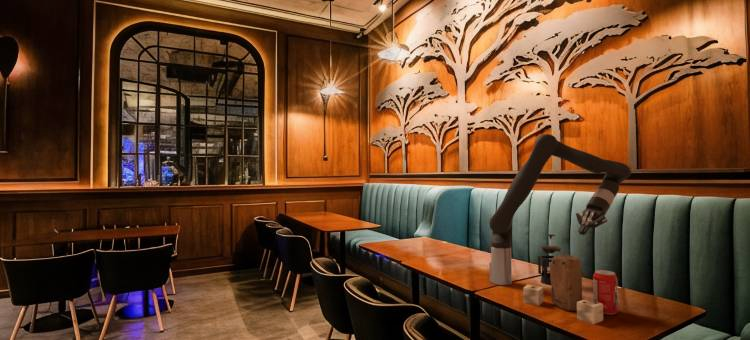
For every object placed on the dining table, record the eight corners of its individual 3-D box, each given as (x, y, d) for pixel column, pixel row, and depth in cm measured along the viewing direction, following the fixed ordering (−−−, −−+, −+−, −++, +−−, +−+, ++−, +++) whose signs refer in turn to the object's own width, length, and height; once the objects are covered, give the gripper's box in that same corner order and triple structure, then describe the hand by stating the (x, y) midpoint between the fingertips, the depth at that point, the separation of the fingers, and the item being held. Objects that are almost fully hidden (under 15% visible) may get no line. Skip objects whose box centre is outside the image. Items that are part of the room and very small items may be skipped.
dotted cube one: (523, 302, 150) (523, 287, 150) (528, 298, 154) (527, 283, 154) (538, 306, 146) (538, 290, 146) (543, 301, 150) (543, 286, 150)
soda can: (588, 310, 141) (588, 270, 141) (602, 306, 144) (601, 268, 144) (608, 317, 133) (608, 275, 134) (623, 313, 136) (622, 273, 137)
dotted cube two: (576, 318, 133) (576, 301, 133) (586, 315, 136) (585, 298, 136) (594, 324, 128) (593, 306, 128) (603, 320, 131) (602, 303, 131)
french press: (568, 283, 174) (567, 235, 174) (555, 287, 169) (555, 237, 169) (545, 277, 184) (544, 231, 184) (533, 280, 179) (532, 233, 179)
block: (584, 310, 140) (583, 258, 140) (568, 313, 138) (567, 259, 138) (562, 301, 150) (562, 252, 150) (547, 303, 148) (546, 253, 148)
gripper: (581, 195, 159) (562, 225, 153) (612, 196, 147) (592, 229, 141) (589, 206, 161) (570, 237, 155) (620, 209, 149) (601, 242, 143)
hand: (581, 233), depth 148 cm, fingers closed
